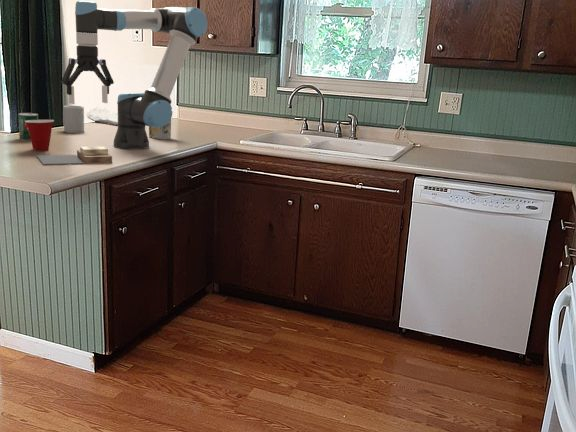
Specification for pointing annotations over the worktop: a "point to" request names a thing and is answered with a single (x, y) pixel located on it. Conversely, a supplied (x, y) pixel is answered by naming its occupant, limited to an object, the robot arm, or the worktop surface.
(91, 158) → the walnut deck
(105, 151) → the birch tile
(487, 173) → the worktop surface
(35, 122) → the plastic cup
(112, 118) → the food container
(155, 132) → the coffee box
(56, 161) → the rubber mat
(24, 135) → the canned tomato
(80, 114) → the cup
